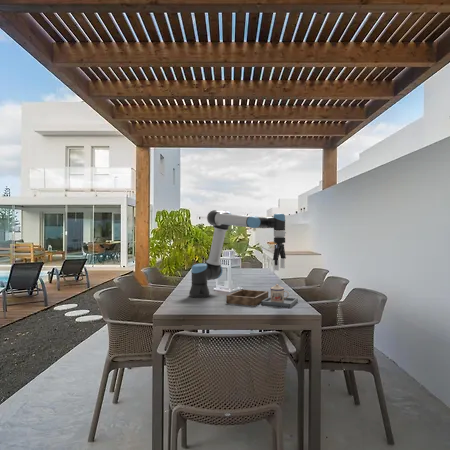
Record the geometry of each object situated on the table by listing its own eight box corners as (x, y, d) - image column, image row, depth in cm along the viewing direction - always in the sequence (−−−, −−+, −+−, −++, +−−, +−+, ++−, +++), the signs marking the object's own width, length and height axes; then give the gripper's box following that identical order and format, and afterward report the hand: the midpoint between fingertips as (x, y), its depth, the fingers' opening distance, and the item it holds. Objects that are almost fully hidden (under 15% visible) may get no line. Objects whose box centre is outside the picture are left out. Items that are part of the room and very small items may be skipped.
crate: (226, 303, 228) (226, 295, 228) (241, 296, 252) (241, 289, 252) (255, 305, 219) (255, 297, 219) (268, 298, 243) (268, 291, 243)
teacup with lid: (270, 303, 222) (270, 285, 222) (270, 300, 231) (270, 282, 231) (289, 303, 220) (288, 285, 220) (288, 300, 229) (288, 283, 229)
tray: (261, 305, 221) (261, 301, 221) (270, 299, 238) (270, 296, 238) (290, 307, 213) (290, 303, 213) (297, 302, 230) (297, 298, 230)
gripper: (279, 237, 214) (279, 271, 213) (290, 236, 236) (290, 267, 236) (268, 237, 217) (268, 270, 216) (279, 236, 239) (279, 267, 239)
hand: (279, 269), depth 226 cm, fingers open, 13 cm apart
